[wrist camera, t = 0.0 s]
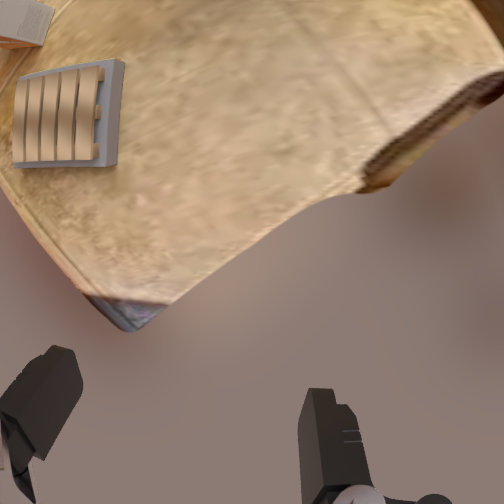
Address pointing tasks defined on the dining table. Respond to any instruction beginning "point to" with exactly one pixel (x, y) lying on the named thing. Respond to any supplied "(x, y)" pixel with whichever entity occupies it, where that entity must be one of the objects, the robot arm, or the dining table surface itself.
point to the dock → (103, 127)
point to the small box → (23, 23)
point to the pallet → (57, 116)
